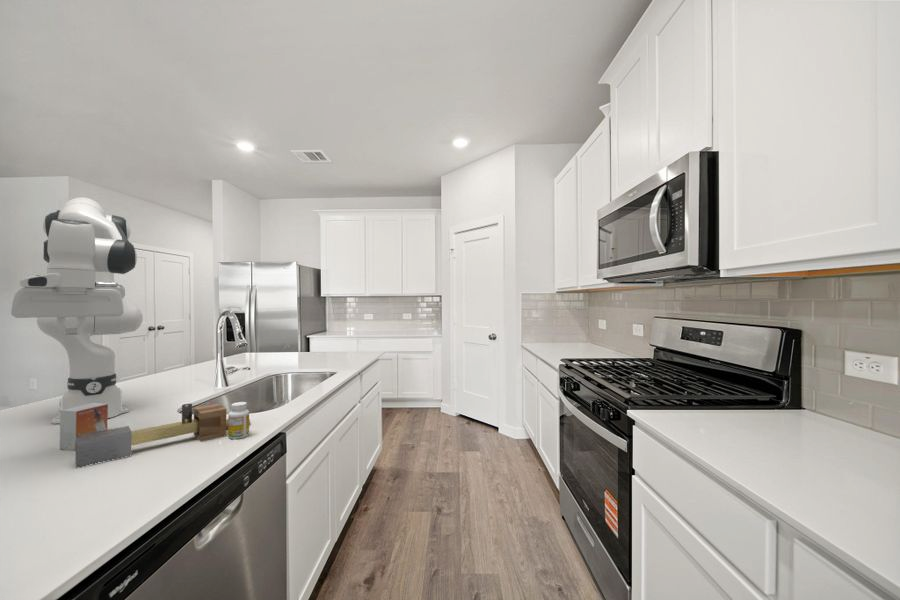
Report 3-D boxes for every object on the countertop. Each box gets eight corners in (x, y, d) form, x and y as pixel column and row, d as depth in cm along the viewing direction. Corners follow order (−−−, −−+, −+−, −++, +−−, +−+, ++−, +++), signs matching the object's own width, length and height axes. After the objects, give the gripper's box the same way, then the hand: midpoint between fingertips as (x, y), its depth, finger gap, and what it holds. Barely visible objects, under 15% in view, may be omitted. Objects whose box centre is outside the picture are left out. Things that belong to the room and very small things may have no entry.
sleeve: (75, 460, 93) (75, 435, 93) (128, 449, 100) (128, 426, 100) (76, 468, 88) (76, 441, 88) (131, 455, 96) (131, 431, 96)
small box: (74, 451, 98) (75, 411, 99) (58, 449, 100) (59, 410, 100) (108, 440, 106) (108, 403, 106) (92, 438, 107) (93, 402, 108)
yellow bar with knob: (129, 442, 99) (129, 412, 99) (215, 425, 113) (215, 398, 113) (130, 445, 97) (130, 415, 97) (218, 427, 111) (218, 400, 111)
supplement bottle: (241, 431, 114) (241, 400, 114) (253, 434, 112) (253, 402, 112) (224, 437, 109) (224, 404, 109) (236, 440, 107) (236, 406, 107)
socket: (193, 434, 111) (193, 407, 111) (218, 429, 116) (218, 403, 116) (200, 441, 106) (200, 413, 106) (226, 435, 111) (226, 408, 111)
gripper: (123, 283, 106) (123, 331, 106) (13, 280, 91) (12, 336, 91) (126, 282, 102) (125, 333, 102) (10, 279, 87) (10, 338, 87)
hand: (71, 334), depth 96 cm, fingers closed
